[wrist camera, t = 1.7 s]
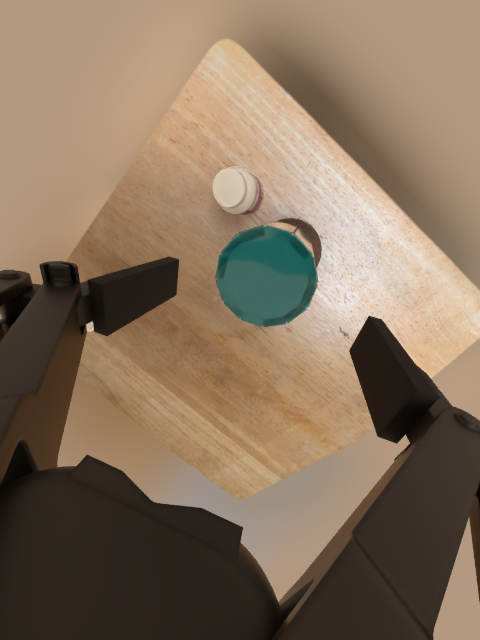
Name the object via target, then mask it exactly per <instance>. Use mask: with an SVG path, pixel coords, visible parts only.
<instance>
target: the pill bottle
mask: <svg viewBox="0 0 480 640" xmlns="http://www.w3.org/2000/svg"><path fill="white" fill-rule="evenodd" d="M212 189H213V195H214V197H215V199H216V201H217V202H218V203H219V205H220V206H221V207H222V208H223V209H224V210H225V211H227V212H228V213H231V214H250V213H253V212H255V211H256V210H257V209H258V208H259V207H260V205H261V203H262V201H263V195H264V191H263V187H262V184H261V182H260V181H259V179H258V178H257V177H255V176H254V175H253V174H252V173H250V172H249V171H248V170H246V169H245V168H243V167H241V166H230V167H228V168H225V169H222V170H221V171H219V172H218V173H217V175H216V176H215V178H214V181H213V186H212Z"/></svg>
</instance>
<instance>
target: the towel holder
mask: <svg viewBox="0 0 480 640" xmlns="http://www.w3.org/2000/svg"><path fill="white" fill-rule="evenodd" d="M277 222H283V223H286V224H290V225H294V226H297V229H298V228H300V229H301V230H302V231H303V233H304V234H305V235H306V236H307V237H308V238H309V239H310V242H311V243H312V248H313V253H314V258H315V264H316V267H317V266H318V263H319V261H320V258H321V242H320V239H319V236H318V234H317V232H316V231H315V230H314V228H313V227H312V226H311V225H309V224H308V223H306V222H304V221H302V220H299V219H294V218H289V219H283V220H279V221H277ZM275 223H276V222H275Z"/></svg>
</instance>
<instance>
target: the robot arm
mask: <svg viewBox="0 0 480 640" xmlns="http://www.w3.org/2000/svg"><path fill="white" fill-rule="evenodd" d="M178 266H179V259H176V258H172V257H166V258H163V259H159V260H156V261H152V262H149V263H145V264H142V265H138V266H135V267H131V268H128V269H124V270H121V271H117V272H113V273H110V274H106V275H103V276H99V277H96V278H92V279H89V280H88V281H86V282H82V283H80V280H79V273H78V267H77V265H76V264H73V263H70V262H62V261H54V262H45V263H42V264H40V270H41V274H42V278H43V284H42V285H38V284H32V281H31V277H30V274H28V273H26V272H22V271H15V270H3V271H0V314H1V317H2V319H1V320H0V640H433V631H434V627H435V623H436V620H437V617H438V614H439V610H440V607H441V604H442V601H443V598H444V595H445V591H446V588H447V585H448V582H449V578H450V575H451V572H452V569H453V566H454V563H455V559H456V556H457V553H458V550H459V547H460V543H461V540H462V537H463V534H464V530H465V527H466V524H467V521H468V518H470V526H471V534H472V542H473V550H474V559H475V568H476V576H477V584H478V593H479V601H480V421H479V420H478V419H476V418H475V417H473V416H472V415H470V414H469V413H467V412H465V411H463V410H461V409H458V408H456V407H452V405H451V404H450V403H449V401H448V400H447V399H446V398H445V396H444V395H443V394H442V392H440V390H438V388H437V386H436V385H435V384H434V383H433V381H432V380H431V378H430V377H429V376H428V375H427V374H426V373H425V372H424V371H423V370H422V369H420V368H419V367H418V366H416V364H415V363H414V362H413V360H412V359H411V358H410V356H409V355H408V354H407V352H406V351H405V350H404V348H403V347H402V346H401V344H400V343H399V342H398V340H397V339H396V338H395V337H394V335H393V334H392V333H391V331H390V330H389V329H388V327H387V326H386V325H385V323H384V322H383V321H382V319H378V318H375V317H372V316H369V317H368V318H367V320H366V322H365V324H364V325H363V327H362V329H361V331H360V333H359V334H358V336H357V338H356V340H355V341H354V343H353V345H352V347H351V348H350V350H349V352H350V355H351V358H352V361H353V364H354V367H355V370H356V373H357V376H358V379H359V382H360V385H361V388H362V391H363V394H364V397H365V400H366V403H367V406H368V409H369V412H370V415H371V418H372V421H373V424H374V427H375V430H376V433H377V436H378V437H380V438H383V439H386V440H389V441H391V442H394V443H398V442H399V441H400V440H401V439H402V438H403V436H404V435H405V434H406V436H407V438H408V440H409V442H410V444H409V445H408V446H407V447H406V448H405V449H404V450H403V451H402V452H401V453H400V454H399V455H398V456H397V457H396V458H395V459H394V460H395V461H394V463H393V464H392V465H391V466H390V468H389V469H388V470H387V471H386V473H385V474H384V475H383V476H382V478H381V479H380V480H379V481H378V482H377V484H376V485H375V486H374V488H373V489H372V490H371V491H370V492H369V494H368V495H367V496H366V497H365V499H364V500H363V501H362V502H361V504H360V505H359V506H358V507H357V509H356V510H355V511H354V512H353V513H352V515H351V516H350V517H349V518H348V520H347V521H346V522H345V523H344V525H343V526H342V527H341V528H340V530H339V531H338V532H337V533H336V534H335V536H334V537H333V538H332V539H331V541H330V542H329V543H328V545H327V546H326V547H325V548H324V549H323V551H322V552H321V553H320V554H319V556H318V557H317V558H316V559H315V560H314V562H313V563H312V564H311V565H310V567H309V568H308V569H307V570H306V572H305V573H304V574H303V575H302V576H301V577H300V579H299V580H298V581H297V582H296V583H295V584H294V585H293V586H292V587H291V588H290V590H289V591H288V592H287V593H286V594H285V595H284V597H283V598H282V599H281V600H280V601H279V602H278V600H277V598H276V596H275V593H274V591H273V588H272V586H271V585H270V583H269V581H268V579H267V577H266V575H265V573H264V571H263V570H262V568H261V567H260V565H259V564H258V562H257V561H256V559H255V558H254V557H253V556H252V554H251V553H250V552H249V551H248V550H247V549H246V548H245V547H244V546H243V545H242V544H241V543H240V541H241V535H242V530H243V527H241V526H239V525H237V524H235V523H232V522H230V521H228V520H226V519H224V518H222V517H220V516H217V515H215V514H213V513H211V512H209V511H207V510H205V509H202V508H196V507H187V506H178V505H169V504H160V503H155V502H153V501H151V500H150V499H149V498H148V497H147V496H146V495H145V494H144V493H143V492H142V491H141V490H140V489H139V488H138V487H137V486H136V485H135V484H134V483H133V482H132V480H131V479H130V478H129V477H128V476H127V475H126V474H125V473H123V471H121V470H119V469H117V468H115V467H112V466H110V465H108V464H106V463H104V462H102V461H100V460H98V459H95V458H93V457H91V456H89V455H86V456H85V458H84V459H83V460H82V461H81V462H80V463H79V464H78V465H77V466H68V467H57V460H58V453H59V448H60V444H61V440H62V436H63V432H64V427H65V423H66V419H67V414H68V410H69V406H70V401H71V397H72V393H73V389H74V384H75V380H76V376H77V372H78V367H79V363H80V359H81V354H82V350H83V346H84V342H85V337H86V333H87V328H86V324H88V323H90V322H92V321H93V327H94V332H97V333H100V334H102V335H105V336H108V335H110V334H112V333H113V332H115V331H117V330H118V329H120V328H122V327H123V326H125V325H127V324H129V323H130V322H132V321H134V320H135V319H137V318H139V317H140V316H142V315H144V314H145V313H147V312H149V311H150V310H152V309H154V308H155V307H157V306H159V305H160V304H162V303H164V302H165V301H167V300H169V299H170V298H172V297H174V296H175V295H176V292H177V279H178Z"/></svg>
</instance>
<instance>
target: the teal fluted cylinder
mask: <svg viewBox="0 0 480 640" xmlns="http://www.w3.org/2000/svg"><path fill="white" fill-rule="evenodd" d="M221 253H222V254H221V255H219V261H218V266H217V272H216V278H217V280H216V283H217V286H218V289H219V292H220V295H221V298H222V301H224V304H225V305H226V306H227V307H228V308H229V309H230V310H231V311H232V312H233V313H234V314H235V315H236V316H237V317H238V318H241V320H243V321H246V322H249V323H251V324H254V325H257V326H260V327H262V326H264V327H269V326H276V325H283V324H286V322H287V323H289V322H290V321H292V320H293V319H294V318H296V317H297V316H299V315H300V314H301V313H303V312H304V311H305V310H306V309H307V307H309V305H310V302H311V300H312V298H313V295H314V293H315V291H316V288H317V286H318V285H317V282H318V277H317V271H316V264H315V258H314V253H313V248H312V243H311V242H310V239H309V238H308V237H307V236H306V235H305V234H304V233H303V231H302V230H301V229H300V228H298V229H297V226H294V225H290V224H286V223H283V222H276V223H271V224H266V225H261V226H258V227H255V228H252V229H249V230H245V231H242V232H239V234H237V235H235V237H234V238H233V239H232V240H231V241H230V242H229V244H228V245H227V246H226V247H225V248H224V249H223V251H222V252H221Z"/></svg>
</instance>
